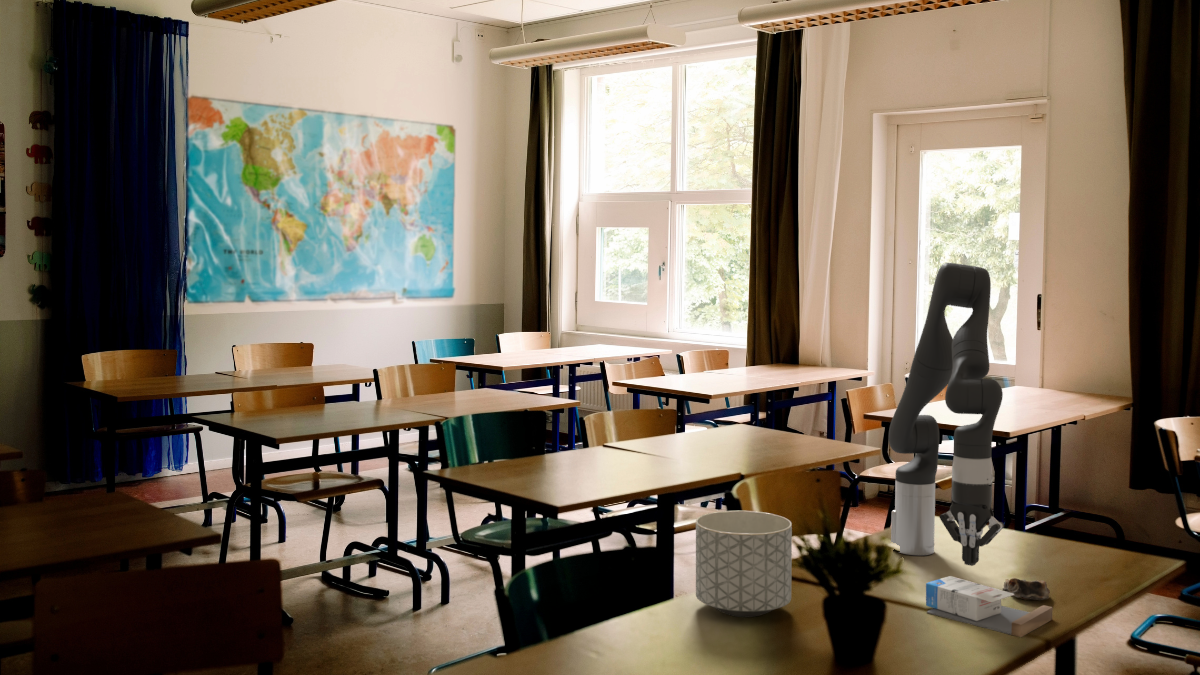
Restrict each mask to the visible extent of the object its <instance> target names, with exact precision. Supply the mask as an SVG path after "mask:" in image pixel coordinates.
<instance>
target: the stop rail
mask: <svg viewBox="0 0 1200 675" xmlns="http://www.w3.org/2000/svg"><path fill="white" fill-rule="evenodd" d="M1053 610H1054V609H1053V607H1052V606H1048V605H1044V604H1043V605H1041V606H1039V607H1037V608H1036V609H1034V610H1032V611H1029V612H1030V613H1028V614H1026V615H1024V616H1022V617H1021V618H1019V619H1017V620H1015V621H1013V622H1012V634H1011V635H1010V636H1014V637H1017V638H1022V637H1025V636H1026V635H1028V634H1029V633H1031V632H1033V631H1035V630H1037V629H1039V628H1040V627H1042V626H1044V625H1045V624H1047V623H1048V622H1050V621H1052V620H1053Z"/></svg>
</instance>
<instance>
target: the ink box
mask: <svg viewBox="0 0 1200 675" xmlns="http://www.w3.org/2000/svg"><path fill="white" fill-rule="evenodd" d="M1012 596H1014V594H1013V593H1011V592H1007V591H1003V589H1002V590H1001V588H1000V589H999V588H995V587H993V586H988V585H985V584H981V583H977V582H973V581H970V580H966V579H964V578H963V579H962V578H958V577H956V576H953V575H948V576H945V577H942V578H938V579H935V580H931V581H928V582H926V583H925V606H927V607H929V608H931V609H933V608H935V609H939V610H942V611H945V612H949V613H952V614H955V615H959V616H962V617H965V618H968V619H971V620H975V621H979V620H982V619H985V618H988V617H990V616H993V615H996V614H999V613H1001V606H1002V600H1003V599H1007V598H1009V597H1012Z"/></svg>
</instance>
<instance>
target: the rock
mask: <svg viewBox="0 0 1200 675" xmlns="http://www.w3.org/2000/svg"><path fill="white" fill-rule="evenodd" d="M1002 591H1006V592H1009V593H1013V594H1014V595H1013V596H1014V597H1016V598H1018V599H1019V598H1021V599H1022V600H1027V601H1029V600H1034V601H1043V600H1048V599H1049V598H1050V592H1051V591H1050V589H1049V587H1048V583H1047V581H1044V580H1042V579H1041V580H1026V579H1019V578H1018V577H1011V578H1010V579H1009V578H1007V579H1005V582H1003V588H1002Z"/></svg>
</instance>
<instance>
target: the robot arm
mask: <svg viewBox="0 0 1200 675" xmlns="http://www.w3.org/2000/svg"><path fill="white" fill-rule="evenodd" d="M933 283H934V284H933V288H932V291H931V296H930V300H929V305H928V310H927V314H926V319H925V323H924V326H923V329H922V332H921V335H920V337H919V341H918V344H917V346H916V350H915V352H914V356H913V359H912V362H911V366H910V370H909V373H908V377H907V380H906V384H905V387H904V390H903V392H902V396H900V397H901V398H900V401H899V403H898V405H897V407H896V409H895V412H894V414H893V415H892V416H893V417H892V419H891V421H890V425H889V430H888V442H889V446H890V448H891V450H892V451H893V452H895V453H897V454H907V455H909V454H915V456H914V457H913V458H912V459H911V460H910V461H909V462H906V463H905V464H903V465H900V466H898V467H897V468H896V469H895V482H894V483H895V488H894V489H895V490H894V492H895V493H894V495H895V497H894V498H895V499H894V506H895V507H894V509H893V510H892V511H891V521H890V524H891V525H890V526H891V527H890V528H891V529H890V535H891V537H890V543H891V542H893V543H896V544H897V545H899V546H900V552H899V554H900V553H901V554H903V555H910V556H929V555H933V554H934V553H935V528H936V527H935V525H936V524H935V519H936V516H935V514H936V513H935V512H936V508H935V507H936V477H937V476H936V475H937V472H938V465H939V464H938V463H939V462H938V460H939V448H940V429H939V424H938V421H937V420H936V418H935V417H934V416H932V415H930V414H920V413H921V412H922V411H923V409H924V408H925V407H926V406H927V405H928V404H930V402H931V401H932V400H934V399H935V398H936V397H937V396H938V395H939V394H940V393H941V392H942V391H943V390H944V389H945V388H946V390H945V394H944V399H945V405H946V407H947V409H948V410H949V411H950V412H953V413H954V414H959V415H960V414H961V415H981V416H980V419H979V420H978V421H976V422H974V423H971V424H970V423H969V424H965V425H964V424H963V425H961V426H957V427H956V428H955V430H954V433H953V459H952V460H953V461H952V464H951V465H952V468H951V501H952V502H951V505H950V507H949V510H948V511H946V512H944V513H942V514H940V515H938V516H939V520H940V522H942V524H943V526H944V527H945V529H946V531H947V532H948V534H949V535H950V537H951V538H952V540H953V541H954V542H958V543H960V545H961V559H962V560H961V561H962V562H964V565H966V566H970V567H973V566H975V565H976V564H977V563H979V560H980V547H984V546H985V545H989V544H990V543H991V541H993V540H994V538H995V537H996V536H997V535H998V534H999V533H1000V532H1001V531H1002V530H1003V528H1005V524H1004V522H1002V521H999V520H997V519H996V518H995V517H994V511H993V509H992V505H993V504H992V503H993V502H992V501H993V478H994V475H993V461H992V449H993V448H992V446H993V444H992V443H993V433H994V428H995V424H996V420H997V416H998V414H999V411H1000V408H1001V406H1002V402H1003V395H1004V394H1003V393H1004V392H1003V389H1002V386H1001V385H1000V383H999V382H998V381H997V380H995V379H992V378H985V377H987V375H988V374H989V371H990V356H989V348H988V328H989V317H990V306H991V305H990V304H991V291H992V290H991V289H992V287H991V286H992V284H991V276H990V273H989V271H988V270H987V269H986V268H984V267H981V266H977V265H976V266H974V265H969V264H962V263H955V262H945V263H943V264H942V265H941V266H940V267H939V269H938V271H937V273H936V275H935V280H934V282H933ZM948 306H951V307H952V306H953V307H960V308H965V309H972V312H971V314H970V316H969V317H968V318H967V320H966V321H964V322H963V324H962V325H961V326H960V327H959V328H958V329H957V331H956V332H955V334H954V336H953V335H952V334H951V332H950V329H949V326H948V323H947V320H946V315H945V312H946V309H947V307H948ZM952 336H953V337H952ZM986 526H987V528H988V530H987V531H986V532H985V533H984V532H983V531H984V528H985V527H986ZM983 533H984V535H983Z"/></svg>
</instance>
